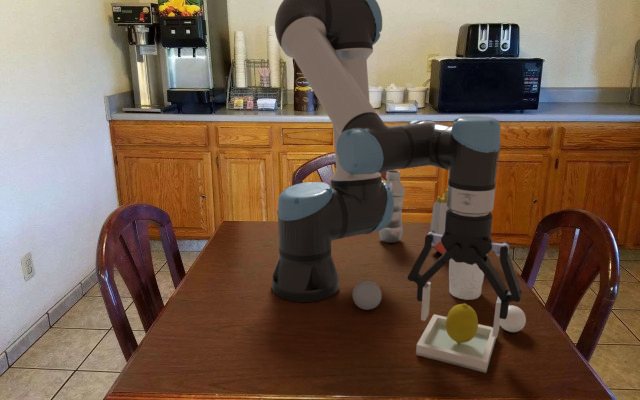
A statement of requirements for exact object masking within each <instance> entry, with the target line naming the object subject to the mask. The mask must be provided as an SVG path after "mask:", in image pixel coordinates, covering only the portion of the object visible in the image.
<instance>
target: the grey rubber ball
mask: <svg viewBox="0 0 640 400" xmlns="http://www.w3.org/2000/svg"><path fill="white" fill-rule="evenodd" d="M382 295H383V294H382V290H381V288H380V286H379V285H378V284H377V283H376V282H374V281H372V280H368V279H367V280H361V281H359V282H358V283H357V284H356V285H355V286H354V287H353V290H352V295H351V296H352V300H353V302H354V304H355V305H356V306H357V307H358V308H359V309H362V310H364V311H365V310H366V311H368V310H373V309H375V308H376V307H378V306H379V304H380V303H381V301H382Z"/></svg>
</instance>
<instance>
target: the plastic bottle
mask: <svg viewBox="0 0 640 400" xmlns="http://www.w3.org/2000/svg"><path fill="white" fill-rule="evenodd" d="M385 179H386V181H384V182H385V183H387V184H388V185H389V187H390V191H391V192H392V193H393V198H394V210H393V215H392V218H391V220H390V222H389V223H388V224H387V225H386V227H384V228H383V229H381V230H378V236H379V237H378V238H379V239H380V240H381V241H382V242H383V243H384V242H385V243H398V242H400V240H401V239H402V238H403V234H404V233H403V231H404V230H403V224H402V223H403V222H402V210H403V204H404V199H405V198H404V197H405V194H406V193H405V192H406V189H405V187H404V185H403V184H402V182H401V181H400V179H401V171H399V170H397V169H396V170H389V171H386V175H385Z"/></svg>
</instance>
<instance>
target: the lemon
mask: <svg viewBox="0 0 640 400" xmlns="http://www.w3.org/2000/svg"><path fill="white" fill-rule="evenodd" d="M446 317H447V319H446V330H447V333H448V335H449V336H450V338H451V339H452V340H454V341H456V342H457V343H458V344H460V343H465V342H468V341H470V340H471V339H473V338H474V336H475V334H476V332H477V328H478V324H479V320H478V315H477V312H476V311H475V309H474V308H473V307H472V306H470V305H468V304H467V303H459V304H456V305H454V306H452V308H451V309H449V311H448V313H447V315H446Z"/></svg>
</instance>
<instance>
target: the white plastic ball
mask: <svg viewBox="0 0 640 400" xmlns="http://www.w3.org/2000/svg"><path fill="white" fill-rule="evenodd" d="M526 322H527V319H526V313H525V312H524V311H523V310H522V309H521V308H520V307H518V306H516V305H510V304H509V308H508V315H507V318H506V319H501V318H500V326H499V327H501V328H502V329H503V330H505V331H506V332H509V333H517V332H520V331H521V330H522V329H523V328H524V327H525V326H526Z"/></svg>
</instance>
